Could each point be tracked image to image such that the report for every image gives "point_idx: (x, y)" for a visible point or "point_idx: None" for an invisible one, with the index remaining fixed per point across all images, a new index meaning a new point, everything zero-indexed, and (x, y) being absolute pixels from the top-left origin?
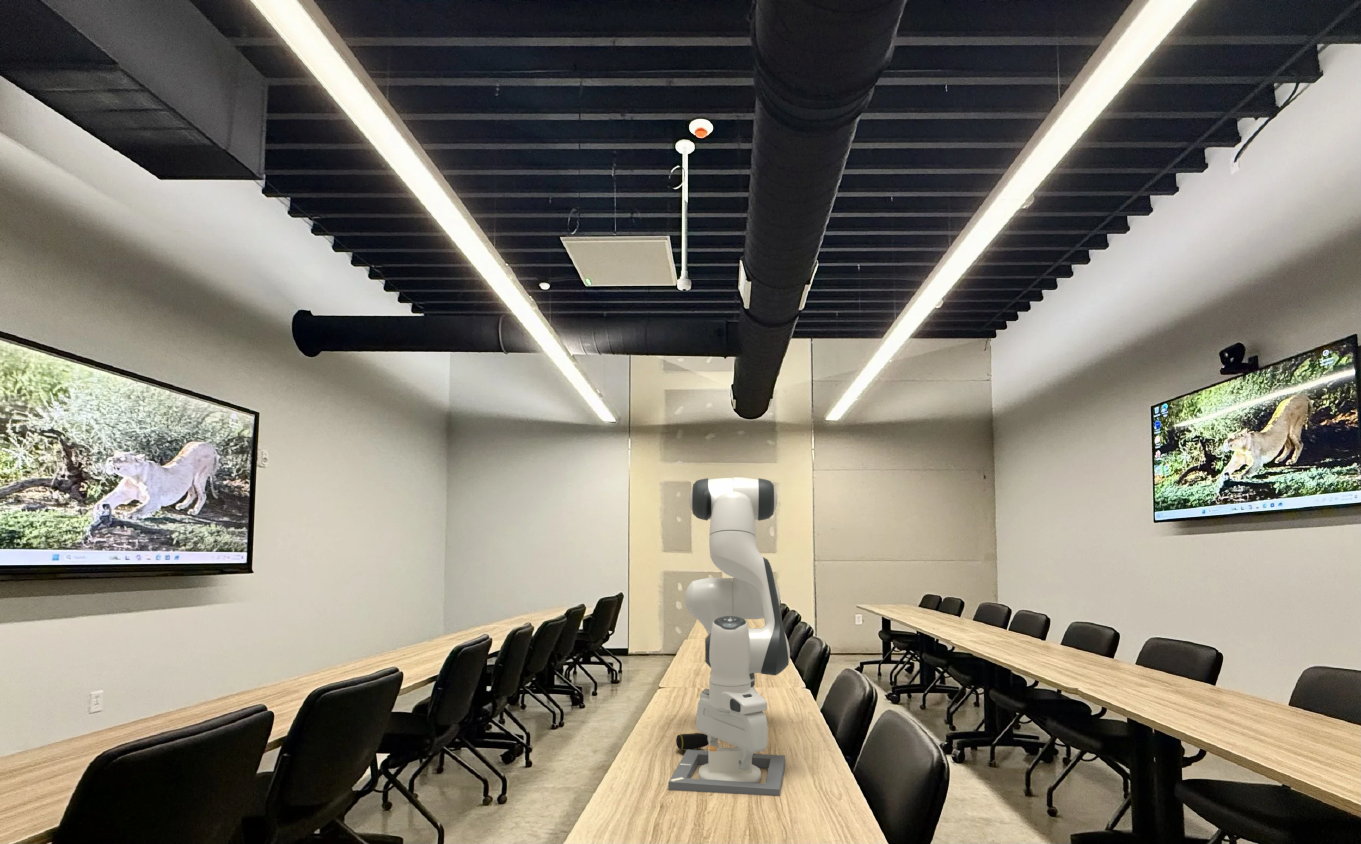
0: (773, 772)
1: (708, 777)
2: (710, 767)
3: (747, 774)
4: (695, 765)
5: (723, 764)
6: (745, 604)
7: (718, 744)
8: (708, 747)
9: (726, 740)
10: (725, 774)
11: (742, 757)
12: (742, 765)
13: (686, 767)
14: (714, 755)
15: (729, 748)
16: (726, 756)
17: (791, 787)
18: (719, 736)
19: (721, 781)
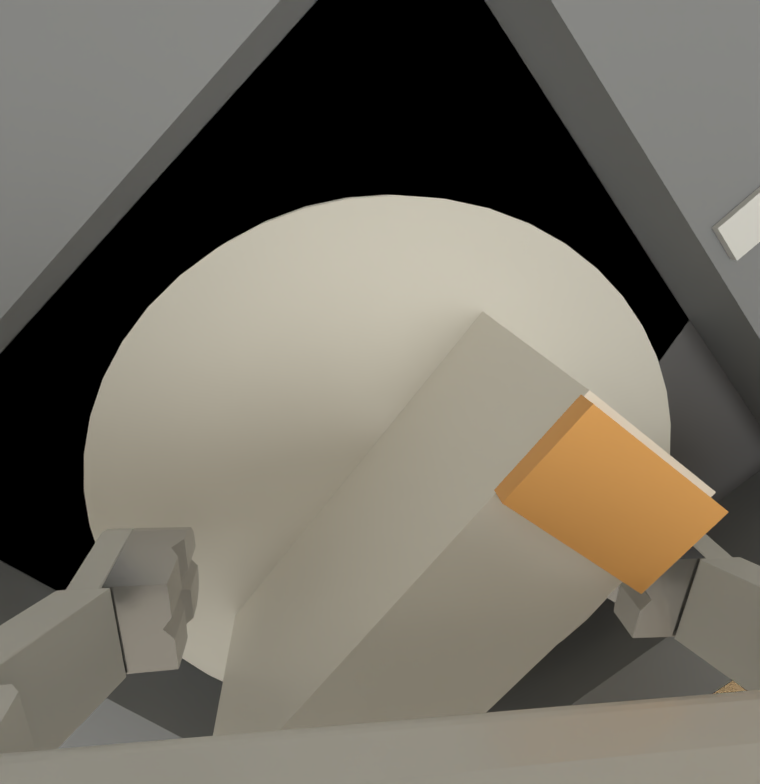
0: (88, 732)
1: (354, 201)
2: (484, 340)
3: (214, 566)
4: (753, 381)
5: (396, 466)
6: None
7: (719, 669)
8: (709, 489)
9: (387, 757)
10: (327, 410)
11: (35, 635)
12: (95, 559)
13: (718, 155)
14: (497, 432)
15: (469, 683)
16: (389, 548)
17: None
18: (645, 761)
19: (65, 179)
